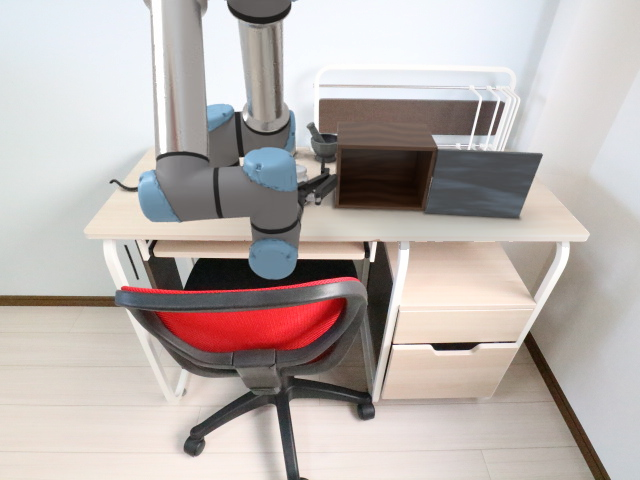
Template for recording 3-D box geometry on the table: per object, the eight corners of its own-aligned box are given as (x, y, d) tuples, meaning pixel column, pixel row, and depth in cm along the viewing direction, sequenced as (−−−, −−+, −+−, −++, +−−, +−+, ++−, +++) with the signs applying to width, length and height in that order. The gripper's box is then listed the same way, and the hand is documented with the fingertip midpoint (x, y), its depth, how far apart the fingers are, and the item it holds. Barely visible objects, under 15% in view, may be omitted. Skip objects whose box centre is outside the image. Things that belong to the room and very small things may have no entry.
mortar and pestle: (340, 153, 131) (342, 118, 124) (339, 165, 124) (341, 129, 117) (308, 151, 132) (307, 117, 125) (305, 163, 125) (304, 127, 117)
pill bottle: (312, 203, 105) (312, 170, 99) (294, 208, 103) (293, 175, 97) (302, 194, 109) (301, 161, 103) (284, 199, 106) (282, 166, 100)
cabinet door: (422, 201, 106) (434, 140, 96) (511, 205, 105) (533, 144, 95) (425, 213, 101) (439, 150, 91) (518, 218, 100) (543, 154, 90)
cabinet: (424, 211, 103) (438, 147, 92) (334, 208, 103) (337, 144, 92) (415, 182, 115) (425, 123, 105) (335, 180, 116) (337, 121, 105)
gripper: (218, 226, 74) (241, 176, 91) (349, 231, 73) (347, 179, 90) (212, 192, 69) (237, 145, 86) (351, 196, 69) (349, 149, 86)
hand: (293, 162), depth 88 cm, fingers open, 13 cm apart
